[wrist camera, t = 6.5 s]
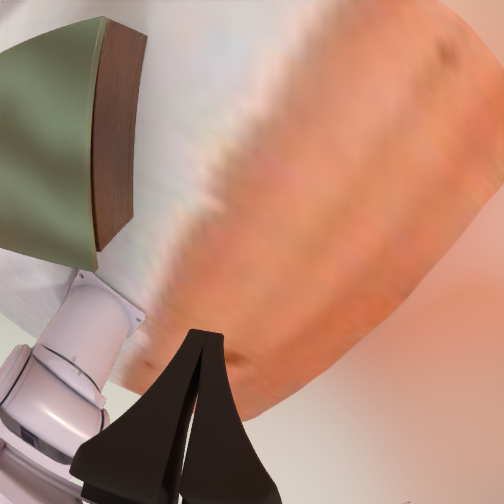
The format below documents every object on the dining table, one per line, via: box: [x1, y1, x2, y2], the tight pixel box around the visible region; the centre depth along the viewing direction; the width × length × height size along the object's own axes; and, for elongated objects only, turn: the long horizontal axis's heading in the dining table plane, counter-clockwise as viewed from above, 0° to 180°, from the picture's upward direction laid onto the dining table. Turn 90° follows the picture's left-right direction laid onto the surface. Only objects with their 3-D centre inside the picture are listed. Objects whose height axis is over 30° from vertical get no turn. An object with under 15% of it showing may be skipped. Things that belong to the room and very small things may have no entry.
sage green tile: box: [0, 16, 108, 273], centre depth 11 cm, size 14×12×1 cm
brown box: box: [90, 19, 147, 252], centre depth 13 cm, size 14×12×5 cm
